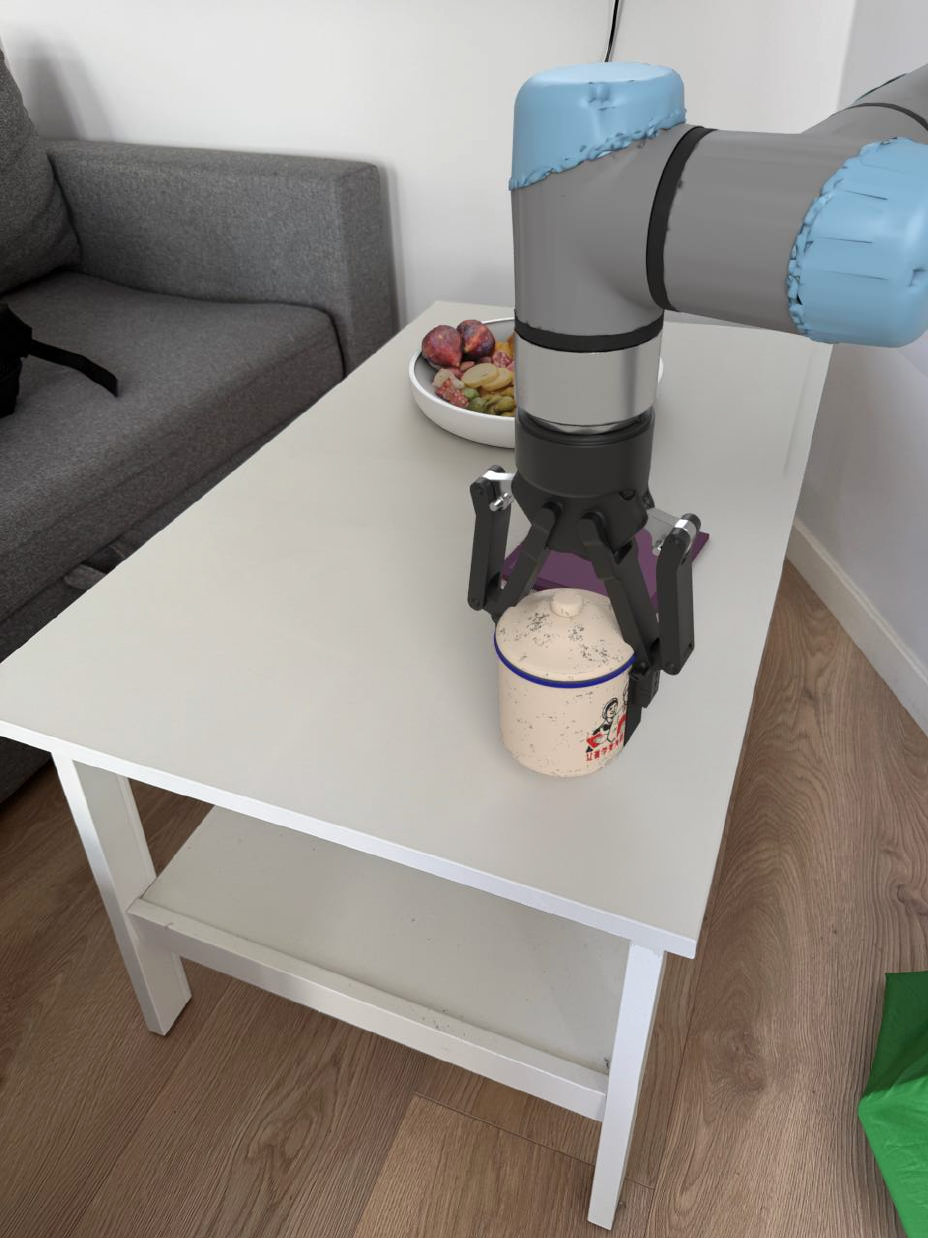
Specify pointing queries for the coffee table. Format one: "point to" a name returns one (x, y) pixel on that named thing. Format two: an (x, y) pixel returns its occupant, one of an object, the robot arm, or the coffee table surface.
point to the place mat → (581, 574)
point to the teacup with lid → (562, 682)
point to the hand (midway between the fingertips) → (572, 711)
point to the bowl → (471, 380)
